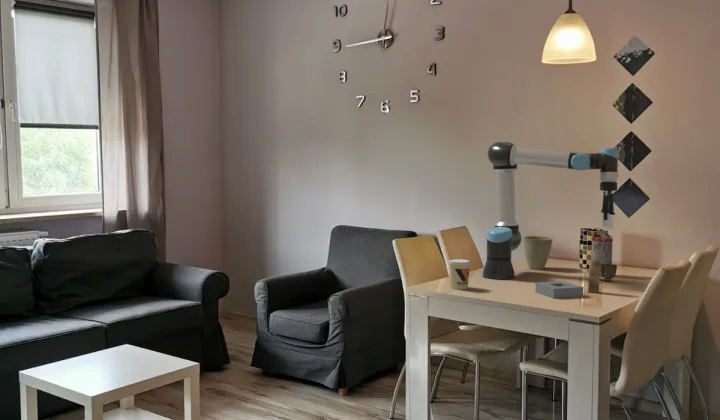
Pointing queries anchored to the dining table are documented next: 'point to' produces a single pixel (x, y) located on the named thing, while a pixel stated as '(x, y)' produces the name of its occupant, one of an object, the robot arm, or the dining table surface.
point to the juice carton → (602, 248)
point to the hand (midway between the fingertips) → (607, 228)
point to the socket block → (559, 289)
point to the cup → (608, 271)
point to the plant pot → (537, 251)
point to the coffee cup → (459, 273)
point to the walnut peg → (594, 276)
